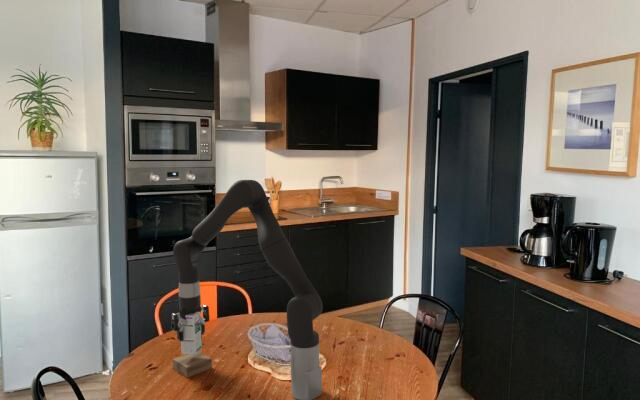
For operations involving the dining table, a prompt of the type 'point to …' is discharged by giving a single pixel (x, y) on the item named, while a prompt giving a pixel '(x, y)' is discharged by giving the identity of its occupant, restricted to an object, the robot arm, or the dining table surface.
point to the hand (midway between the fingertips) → (191, 337)
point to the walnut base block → (192, 364)
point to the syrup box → (192, 334)
